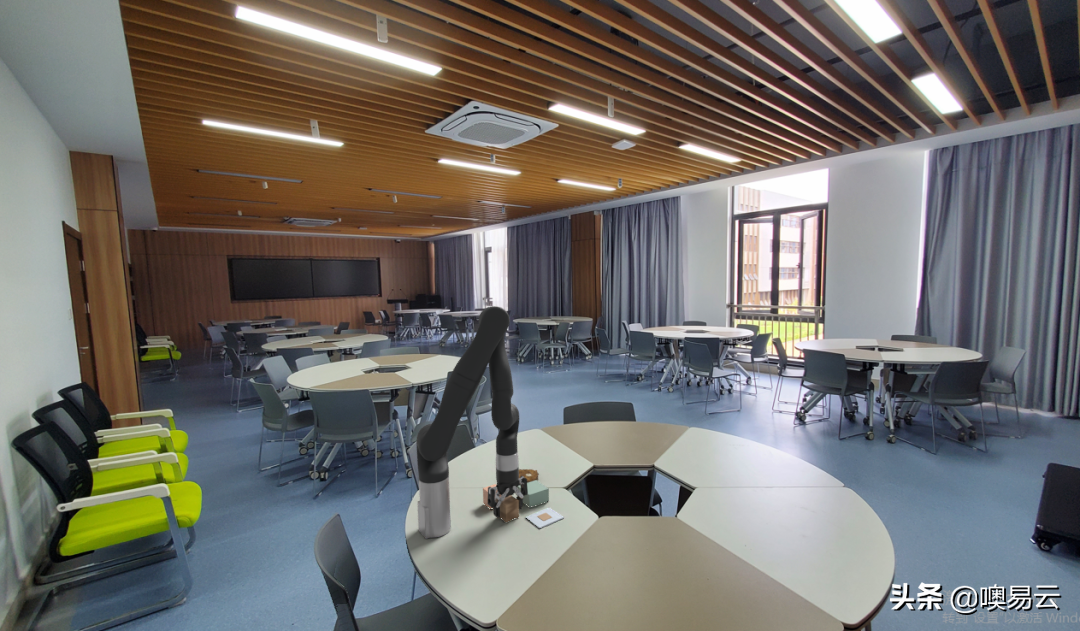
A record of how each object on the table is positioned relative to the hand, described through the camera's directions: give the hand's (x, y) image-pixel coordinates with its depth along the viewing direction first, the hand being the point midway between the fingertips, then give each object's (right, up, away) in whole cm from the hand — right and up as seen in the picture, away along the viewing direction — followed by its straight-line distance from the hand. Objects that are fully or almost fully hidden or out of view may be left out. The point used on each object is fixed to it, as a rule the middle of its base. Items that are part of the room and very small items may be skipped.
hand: (508, 512), depth 144 cm
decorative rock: (+2, 0, +27) cm, 27 cm away
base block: (+8, -1, +11) cm, 14 cm away
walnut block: (0, -2, 0) cm, 2 cm away
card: (+12, -1, -1) cm, 12 cm away
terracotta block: (-6, -1, +8) cm, 10 cm away
